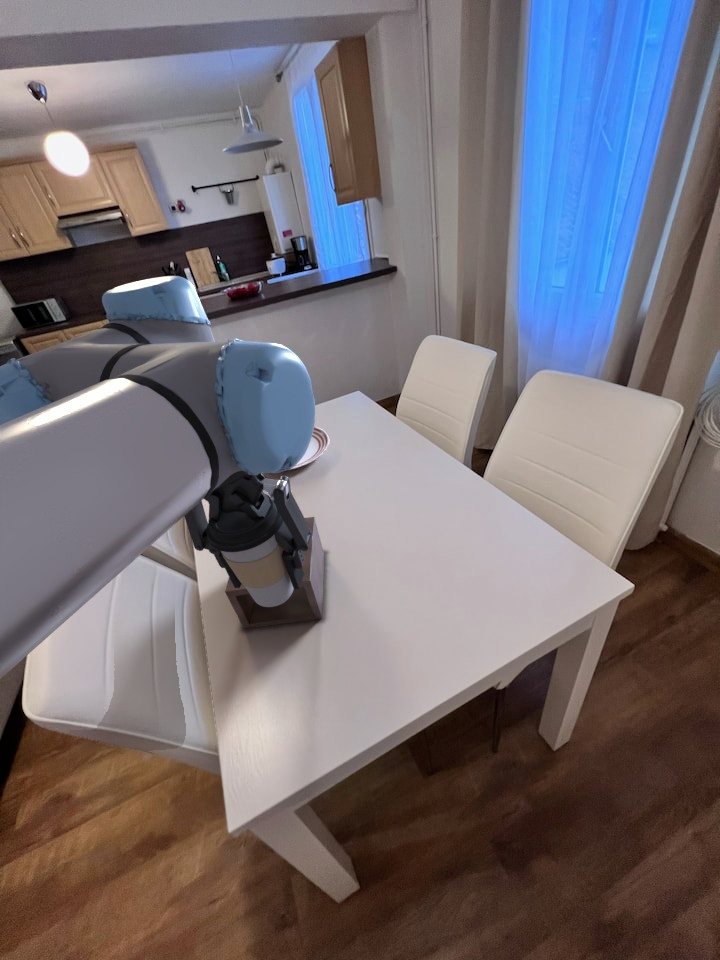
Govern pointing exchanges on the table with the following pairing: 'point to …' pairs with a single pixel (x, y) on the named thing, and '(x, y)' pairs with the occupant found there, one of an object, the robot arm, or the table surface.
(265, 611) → the wooden cubby box
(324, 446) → the dinner plate
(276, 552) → the coffee cup
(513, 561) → the table surface
